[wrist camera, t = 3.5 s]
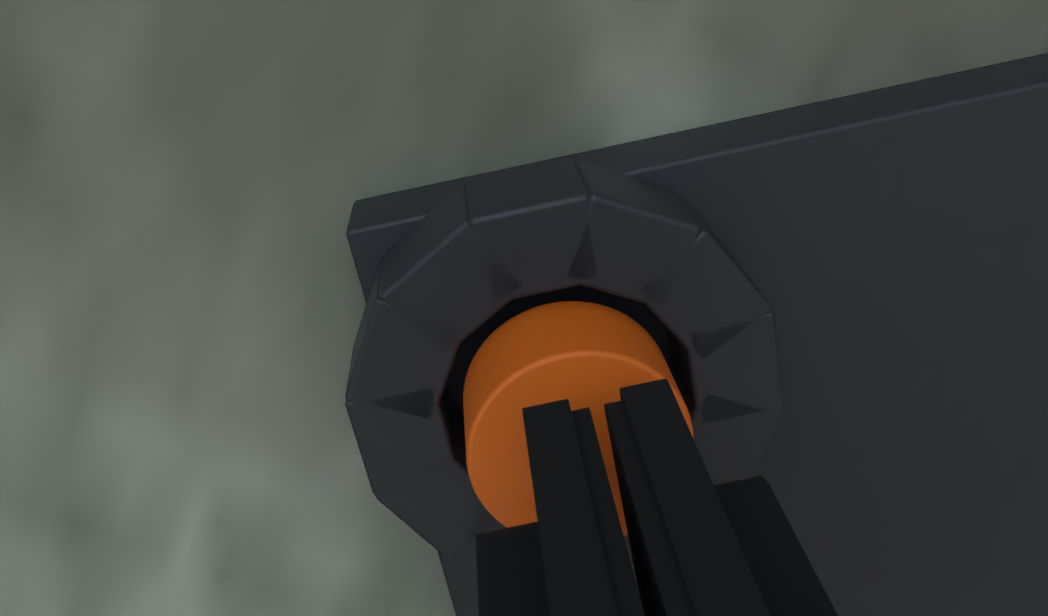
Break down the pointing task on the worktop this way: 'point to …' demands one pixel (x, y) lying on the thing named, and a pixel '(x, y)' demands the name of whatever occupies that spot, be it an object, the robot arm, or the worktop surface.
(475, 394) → the button
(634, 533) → the robot arm
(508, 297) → the scale
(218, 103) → the worktop surface
